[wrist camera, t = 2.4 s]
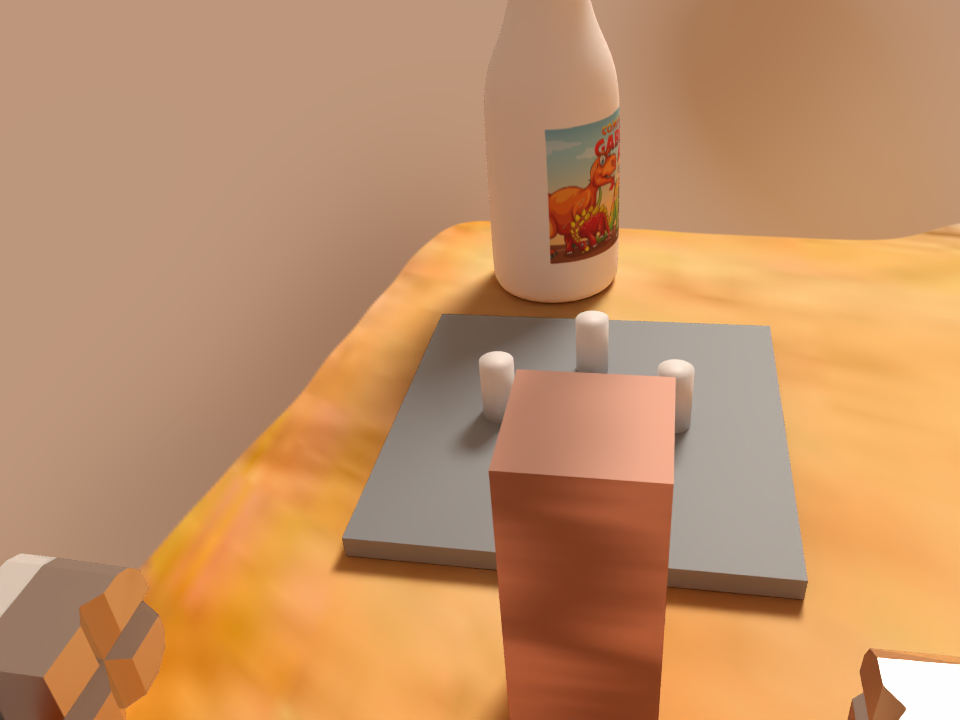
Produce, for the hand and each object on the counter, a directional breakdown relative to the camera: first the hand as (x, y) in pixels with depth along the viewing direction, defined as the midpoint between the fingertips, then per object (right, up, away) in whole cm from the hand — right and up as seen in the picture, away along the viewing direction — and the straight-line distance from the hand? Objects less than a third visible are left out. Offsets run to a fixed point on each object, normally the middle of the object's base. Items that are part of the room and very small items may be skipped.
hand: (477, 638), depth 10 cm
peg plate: (+5, 0, +32) cm, 32 cm away
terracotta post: (+4, -8, +20) cm, 22 cm away
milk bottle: (+5, +8, +46) cm, 47 cm away
